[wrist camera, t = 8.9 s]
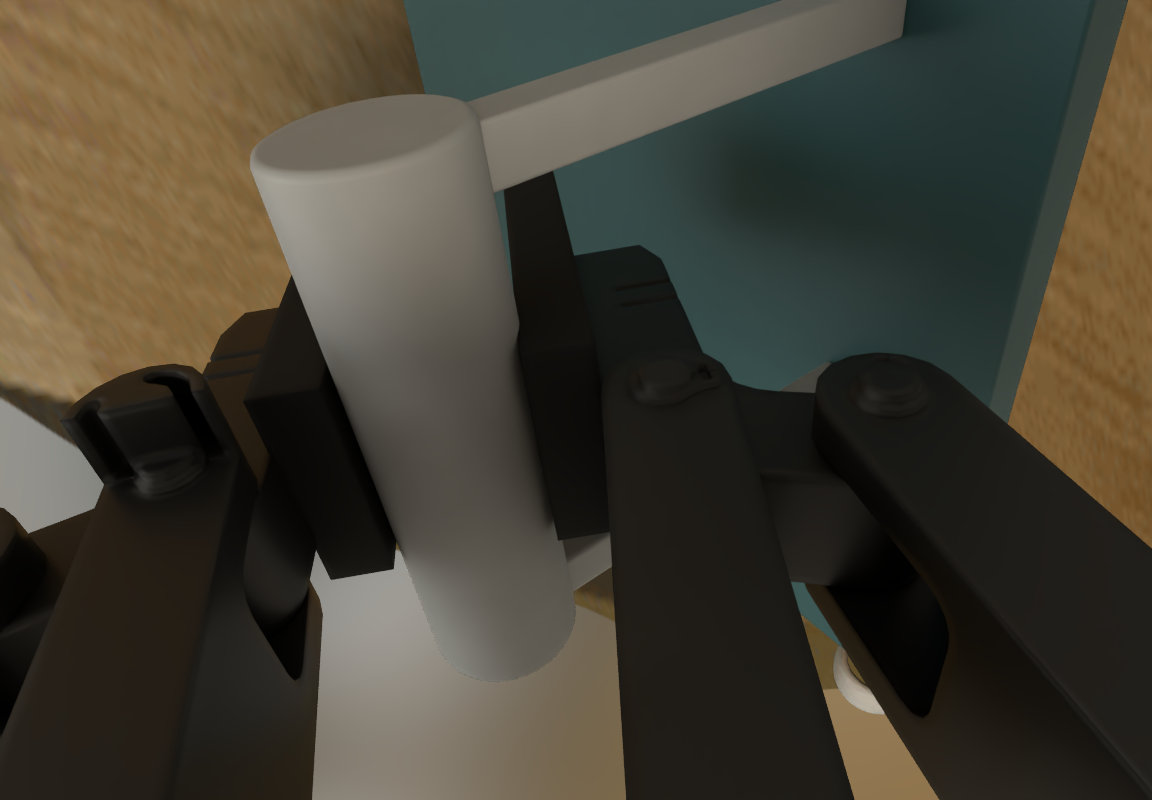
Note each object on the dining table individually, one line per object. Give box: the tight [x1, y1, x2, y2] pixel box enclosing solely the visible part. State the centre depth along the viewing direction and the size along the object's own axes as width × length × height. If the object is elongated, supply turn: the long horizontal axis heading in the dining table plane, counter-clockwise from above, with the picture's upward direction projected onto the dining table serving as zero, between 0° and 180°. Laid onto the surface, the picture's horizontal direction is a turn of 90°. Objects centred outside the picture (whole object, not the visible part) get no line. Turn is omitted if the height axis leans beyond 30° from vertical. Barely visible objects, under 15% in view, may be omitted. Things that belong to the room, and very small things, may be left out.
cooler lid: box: [250, 0, 1128, 682], centre depth 15 cm, size 18×20×9 cm
